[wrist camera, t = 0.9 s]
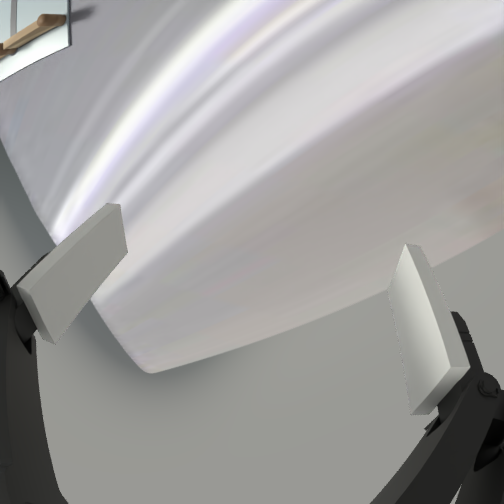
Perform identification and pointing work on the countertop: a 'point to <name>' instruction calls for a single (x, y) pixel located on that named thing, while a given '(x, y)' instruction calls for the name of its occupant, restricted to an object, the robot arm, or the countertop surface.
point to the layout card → (22, 15)
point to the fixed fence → (31, 32)
